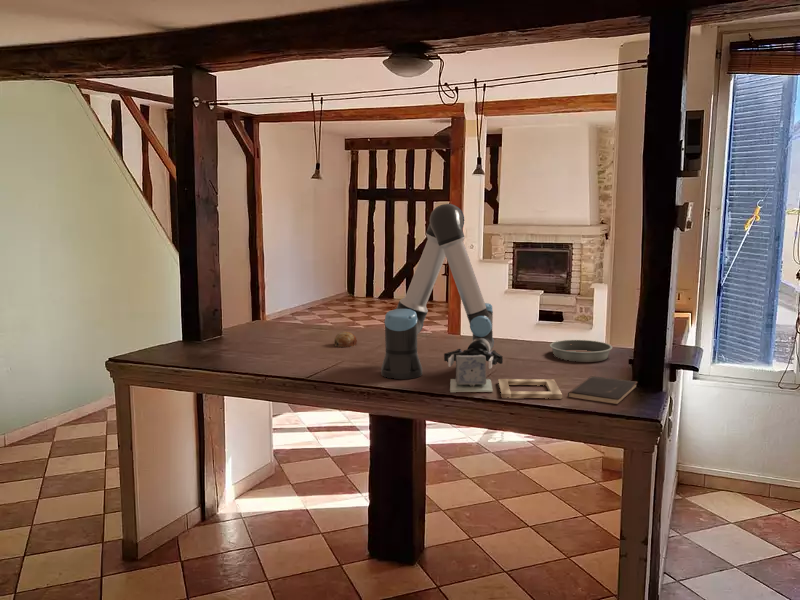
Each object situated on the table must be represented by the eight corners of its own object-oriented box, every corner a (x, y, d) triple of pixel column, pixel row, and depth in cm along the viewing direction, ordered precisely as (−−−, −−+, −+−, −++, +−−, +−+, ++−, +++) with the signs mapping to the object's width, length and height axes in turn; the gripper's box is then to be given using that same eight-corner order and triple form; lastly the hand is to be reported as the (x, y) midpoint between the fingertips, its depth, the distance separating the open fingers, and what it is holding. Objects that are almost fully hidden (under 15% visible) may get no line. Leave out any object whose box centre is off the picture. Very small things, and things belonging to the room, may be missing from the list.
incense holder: (483, 381, 229) (483, 351, 227) (486, 387, 221) (486, 357, 219) (455, 381, 229) (455, 352, 227) (457, 388, 221) (457, 357, 219)
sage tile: (450, 392, 218) (450, 390, 218) (450, 381, 232) (450, 379, 232) (492, 392, 217) (492, 390, 217) (490, 381, 231) (490, 379, 231)
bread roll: (333, 352, 297) (326, 337, 294) (348, 339, 303) (342, 325, 300) (347, 355, 290) (341, 340, 287) (363, 342, 296) (356, 328, 293)
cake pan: (614, 351, 275) (614, 341, 274) (609, 365, 252) (609, 353, 252) (554, 348, 284) (554, 337, 283) (544, 360, 262) (544, 349, 261)
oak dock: (501, 398, 211) (501, 393, 211) (498, 383, 229) (498, 378, 229) (562, 398, 209) (562, 394, 209) (554, 383, 227) (554, 379, 227)
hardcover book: (637, 388, 222) (637, 381, 222) (618, 406, 203) (618, 398, 203) (590, 382, 231) (590, 375, 230) (567, 398, 212) (567, 391, 211)
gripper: (513, 361, 238) (506, 376, 218) (445, 358, 245) (432, 372, 224) (513, 341, 237) (507, 354, 217) (445, 338, 243) (432, 351, 223)
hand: (469, 363), depth 220 cm, fingers open, 13 cm apart
